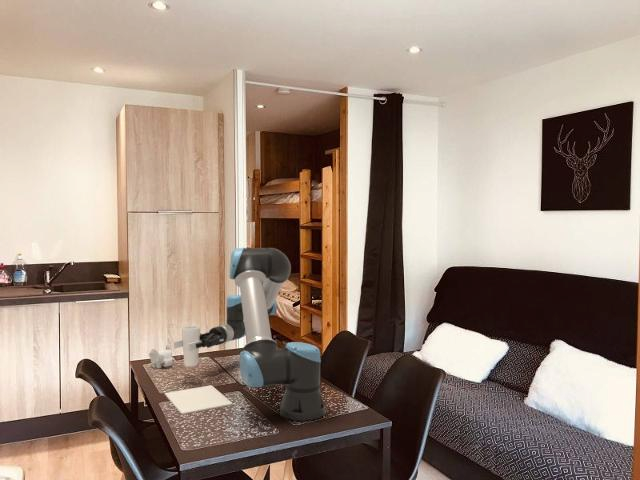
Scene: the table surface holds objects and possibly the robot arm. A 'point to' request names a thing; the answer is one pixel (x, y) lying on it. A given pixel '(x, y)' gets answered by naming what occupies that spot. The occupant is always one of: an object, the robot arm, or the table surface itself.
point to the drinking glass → (190, 336)
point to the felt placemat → (197, 399)
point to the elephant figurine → (161, 357)
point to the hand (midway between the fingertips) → (181, 346)
